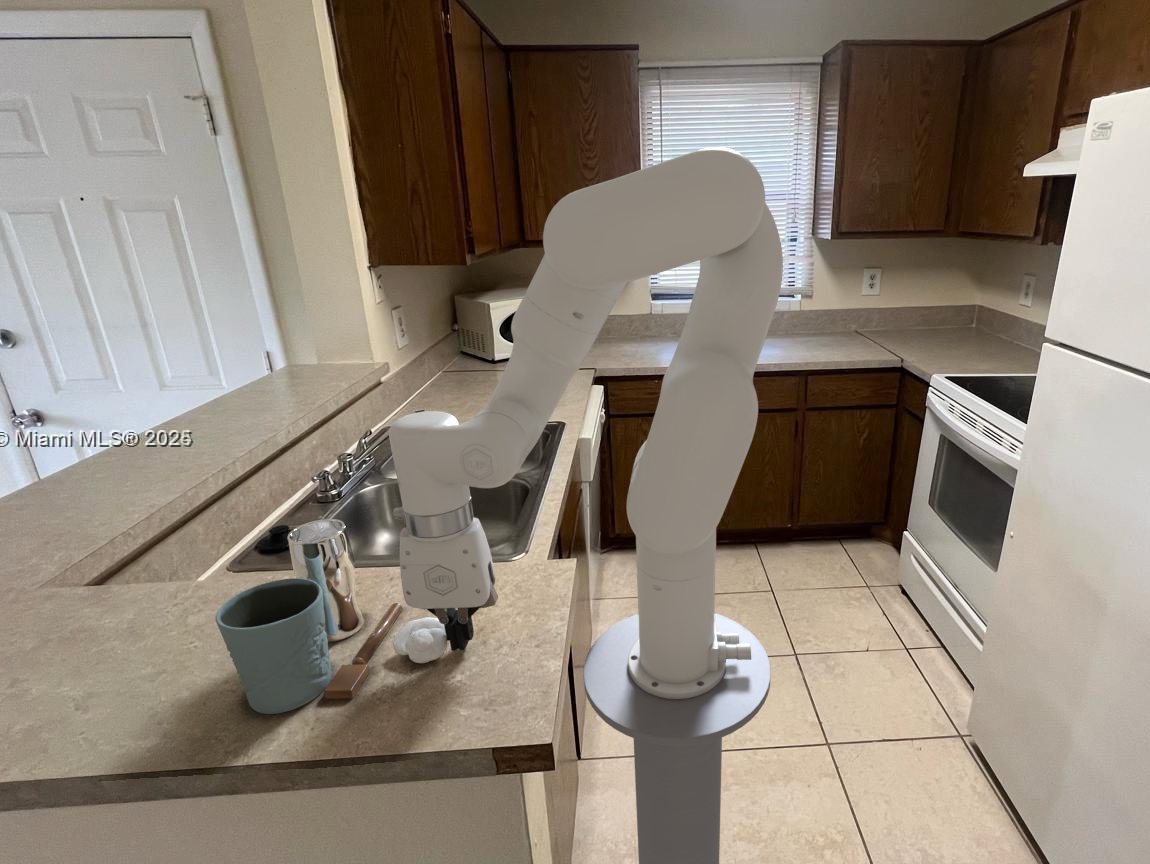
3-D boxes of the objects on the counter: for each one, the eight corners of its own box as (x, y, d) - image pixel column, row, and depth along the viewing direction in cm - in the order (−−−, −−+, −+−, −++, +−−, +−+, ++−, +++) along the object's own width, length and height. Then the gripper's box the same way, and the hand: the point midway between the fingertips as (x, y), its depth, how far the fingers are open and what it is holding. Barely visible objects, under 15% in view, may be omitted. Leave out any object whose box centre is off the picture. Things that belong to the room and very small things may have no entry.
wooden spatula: (387, 610, 87) (385, 600, 86) (410, 610, 87) (408, 600, 86) (325, 699, 71) (322, 688, 70) (353, 698, 71) (350, 687, 70)
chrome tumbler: (304, 628, 83) (278, 530, 78) (357, 606, 88) (336, 513, 83) (320, 651, 79) (294, 550, 74) (375, 627, 83) (355, 530, 78)
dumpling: (455, 639, 81) (454, 619, 79) (440, 672, 77) (439, 651, 75) (403, 631, 81) (401, 610, 79) (385, 663, 77) (382, 642, 74)
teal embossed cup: (223, 702, 71) (194, 615, 66) (304, 648, 79) (283, 569, 75) (281, 730, 67) (254, 639, 63) (360, 670, 75) (340, 587, 71)
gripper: (361, 533, 69) (391, 665, 75) (494, 529, 69) (512, 662, 75) (390, 503, 76) (415, 626, 82) (510, 500, 76) (526, 623, 82)
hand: (461, 643), depth 78 cm, fingers closed
